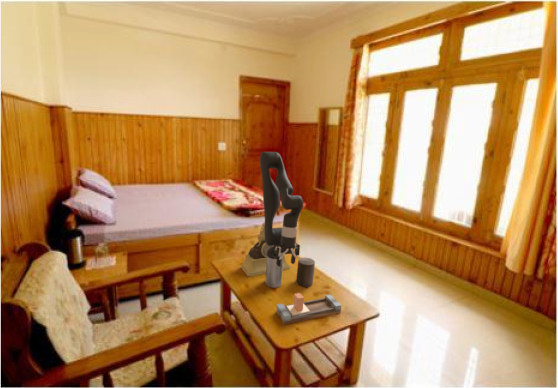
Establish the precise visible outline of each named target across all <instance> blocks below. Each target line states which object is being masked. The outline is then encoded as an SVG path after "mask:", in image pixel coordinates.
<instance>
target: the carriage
mask: <svg viewBox="0 0 558 388" xmlns="http://www.w3.org/2000/svg"><path fill="white" fill-rule="evenodd" d="M304 299H305V297H304V296H303V295H302V293H301V292H297V293H294V296H293V304H294V305H291V304H288V305H289V306H286V305H285V306H286V309H287V310H288V312H289V313H290V315H291V316H296V315H300V314H305V313H310V311H309V309H308V308H307V307H306V306H305V304H304V303H303V302H305V301H304Z"/></svg>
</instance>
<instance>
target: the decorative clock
mask: <svg viewBox="0 0 558 388" xmlns="http://www.w3.org/2000/svg"><path fill="white" fill-rule="evenodd" d="M273 246H274V245H272V246H268V245H267V244H266V242H265V222H263V223H262V226H261V227H260V231H259V234H257V242H256V243H255V244H254V245H253V247H251V248H250V249H249V251H248V253H245V257H244V260H243V262H242V263H241V264H240V268H241V269H242V270H243V271H244V273H245V274H246V276H247V277H248V278H249V277H254V276H260V275H266V262H267V251H268V249H270V248H271V247H273ZM285 257H286V256H285V255H284V256H283V269H282V271H285V270H290V269H291V265H290V264H288V262H287V261H286V260H285V259H286V258H285Z"/></svg>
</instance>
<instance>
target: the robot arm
mask: <svg viewBox="0 0 558 388" xmlns="http://www.w3.org/2000/svg"><path fill="white" fill-rule="evenodd" d="M259 166H260V167H259V168H260V172H261V174H260V175H261V179H262V180H261V181H262V197H263V198H262V199H263V201H262V202H263V212H264V223H265V242H266V244H267V245H268V246H272V245H274V246H273V247H271V248H270V249H268V251H267V262H266V273H265V282H264V283H265V285H266V287H268V288H271V289H272V288H275V289H276V288H279V287H280V286H282V282H283V281H282V280H283V270H282V269H283V256H284V255H291V258H290V263H291V264H292V265H295V263H296V259H297V256H300V249H301V245H300V244H299V243H297V242H296V240H297V232H298V229H297V227H298V222H299V221H298V219H299V217H300V214H301V211H302V209H303V205H304V201H303V198H302V196H301V195H297V194H295V195H293V193H294V187H293V186H292V184H291V181H290V180H289V177H288V175H287V172H286V169H285V165H284V162H283V159H282V157H281V154H280V153H279V152H277V151H262V152H261V153H260V156H259ZM270 169H272V170H273V169H275V170H276V172H277V175H276V178H275V182H274V180H273V179H272V177H271V173H270ZM280 205H281V207H282V208H283V209H284V210H288V211H289V210H290V211H289V212H287V213H285V214H284V215H283V221H282V227H274V226H273V222H274V220H275V216H276V214H277V213H278V210H279V209H280Z"/></svg>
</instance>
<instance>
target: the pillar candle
mask: <svg viewBox="0 0 558 388" xmlns="http://www.w3.org/2000/svg"><path fill="white" fill-rule="evenodd" d="M315 265H316V261H315V259H313V258H310V257H306V256H305V257H300V258H298V261H297V270H296V279H295V281H296V284H297V285H298V286H300V287H304V288H305V287H306V288H307V287H308V288H309V287H312V285H313V284H314V275H315Z"/></svg>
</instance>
